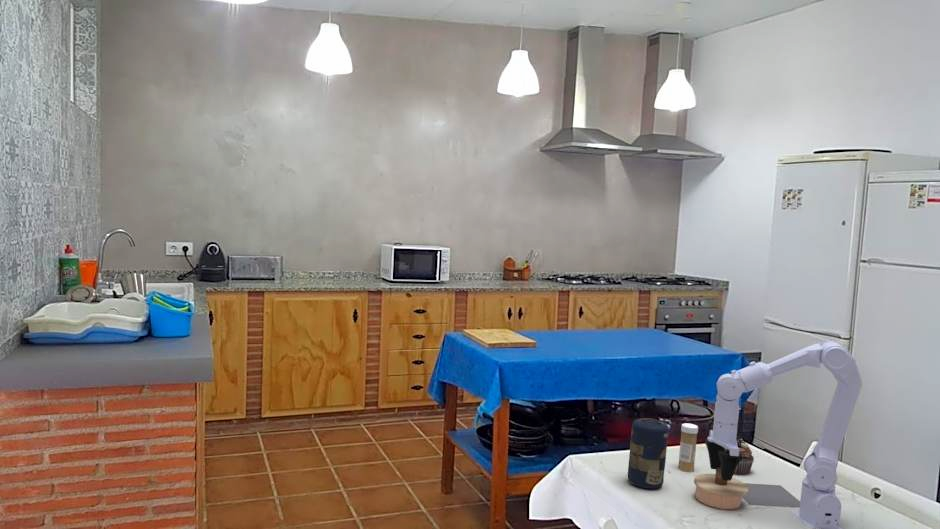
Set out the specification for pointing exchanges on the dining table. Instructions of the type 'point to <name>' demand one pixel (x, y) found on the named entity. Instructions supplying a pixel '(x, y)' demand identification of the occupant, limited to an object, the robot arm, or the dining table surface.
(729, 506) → the bowl
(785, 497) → the mat
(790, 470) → the dining table surface
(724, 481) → the lid
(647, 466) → the navy canister
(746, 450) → the cupcake
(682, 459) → the sprinkles bottle
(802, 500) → the robot arm
